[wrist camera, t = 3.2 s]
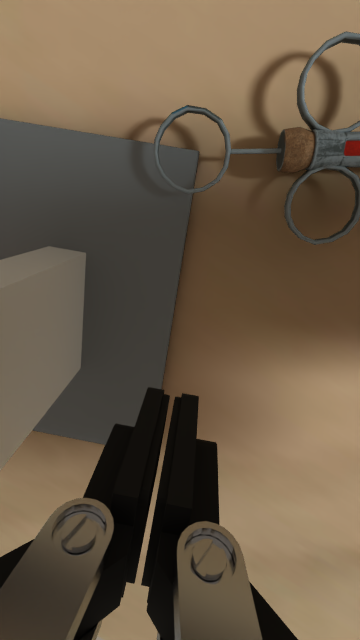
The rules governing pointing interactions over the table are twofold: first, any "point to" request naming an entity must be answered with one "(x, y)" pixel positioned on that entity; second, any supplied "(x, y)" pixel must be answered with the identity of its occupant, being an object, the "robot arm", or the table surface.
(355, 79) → the table surface
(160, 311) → the mat
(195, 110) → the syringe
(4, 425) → the tile
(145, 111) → the table surface
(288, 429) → the table surface
